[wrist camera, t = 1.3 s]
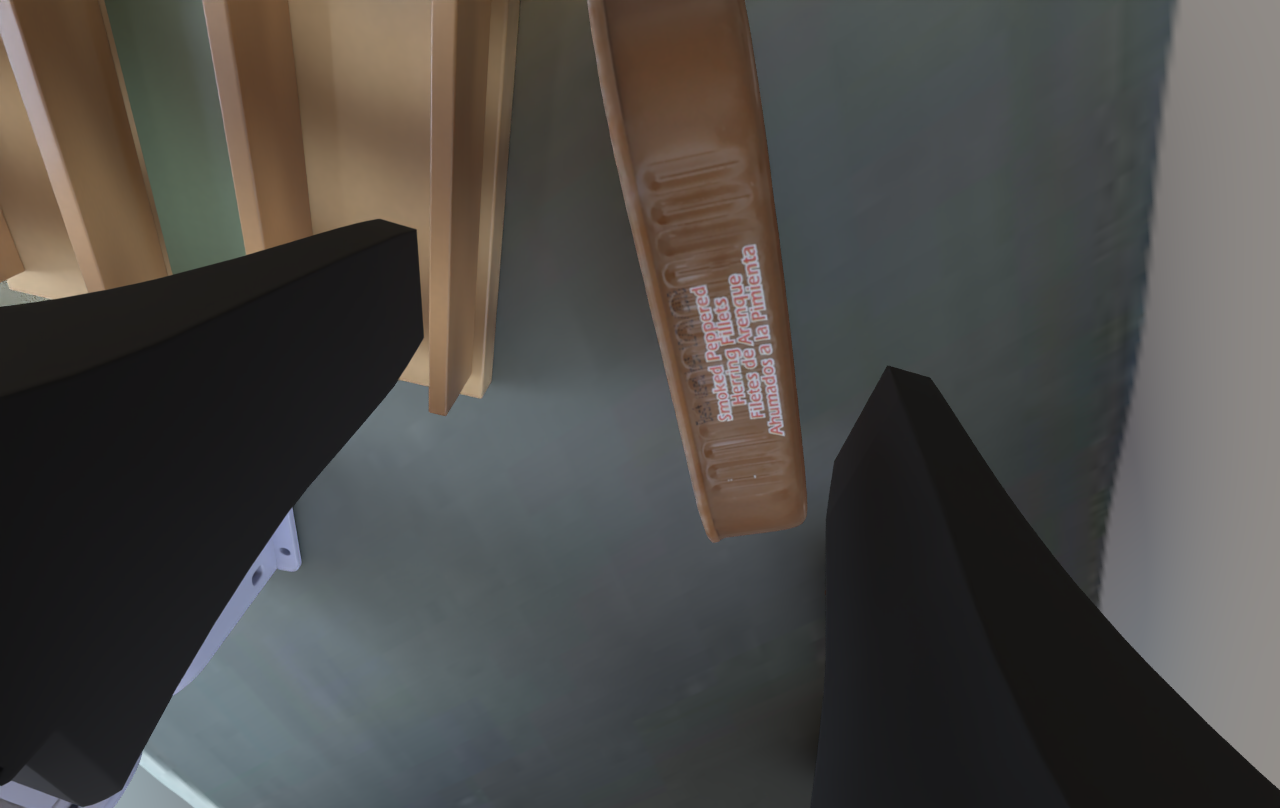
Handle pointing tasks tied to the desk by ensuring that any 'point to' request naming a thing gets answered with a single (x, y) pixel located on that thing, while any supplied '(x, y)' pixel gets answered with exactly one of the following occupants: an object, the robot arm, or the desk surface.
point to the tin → (707, 248)
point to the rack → (260, 146)
